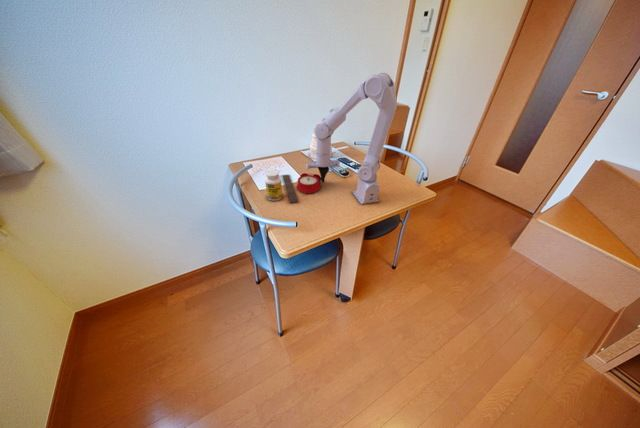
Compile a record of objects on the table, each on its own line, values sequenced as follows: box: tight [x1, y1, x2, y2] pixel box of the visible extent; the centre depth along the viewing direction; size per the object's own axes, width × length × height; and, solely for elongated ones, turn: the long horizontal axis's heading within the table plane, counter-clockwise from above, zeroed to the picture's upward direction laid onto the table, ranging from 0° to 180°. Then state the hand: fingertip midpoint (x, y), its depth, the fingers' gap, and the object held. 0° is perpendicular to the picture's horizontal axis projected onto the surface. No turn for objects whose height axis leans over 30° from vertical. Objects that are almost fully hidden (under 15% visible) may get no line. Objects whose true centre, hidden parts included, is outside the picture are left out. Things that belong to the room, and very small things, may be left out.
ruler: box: [282, 174, 299, 204], centre depth 97 cm, size 24×3×1 cm, turn 16°
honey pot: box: [309, 121, 333, 160], centre depth 124 cm, size 13×13×18 cm
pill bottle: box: [264, 170, 283, 202], centre depth 88 cm, size 6×6×11 cm
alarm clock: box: [296, 172, 322, 195], centre depth 98 cm, size 10×6×15 cm
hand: (322, 181), depth 100 cm, fingers closed, pressing on alarm clock
